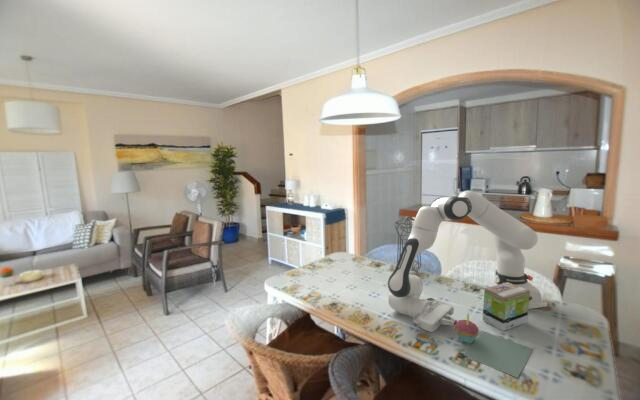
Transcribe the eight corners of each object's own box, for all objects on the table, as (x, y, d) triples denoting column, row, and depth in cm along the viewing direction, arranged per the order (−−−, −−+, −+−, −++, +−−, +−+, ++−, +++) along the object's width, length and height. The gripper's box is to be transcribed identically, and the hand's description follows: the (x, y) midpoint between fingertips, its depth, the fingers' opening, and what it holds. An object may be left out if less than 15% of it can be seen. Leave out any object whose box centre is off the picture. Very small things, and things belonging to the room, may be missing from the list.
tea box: (504, 332, 119) (506, 297, 117) (481, 320, 128) (483, 287, 126) (528, 322, 125) (530, 289, 123) (505, 311, 134) (506, 280, 132)
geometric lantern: (398, 276, 177) (397, 218, 173) (394, 267, 193) (393, 214, 188) (425, 276, 175) (424, 217, 171) (419, 267, 191) (418, 213, 187)
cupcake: (481, 346, 111) (482, 316, 109) (457, 345, 112) (458, 315, 111) (474, 333, 119) (475, 305, 117) (451, 331, 121) (452, 304, 119)
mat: (474, 328, 123) (474, 327, 123) (533, 349, 108) (533, 348, 108) (454, 351, 109) (454, 350, 109) (517, 379, 95) (517, 377, 95)
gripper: (410, 313, 121) (443, 326, 111) (434, 295, 134) (465, 306, 124) (410, 327, 122) (443, 342, 112) (433, 308, 135) (465, 320, 125)
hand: (455, 323), depth 118 cm, fingers closed
